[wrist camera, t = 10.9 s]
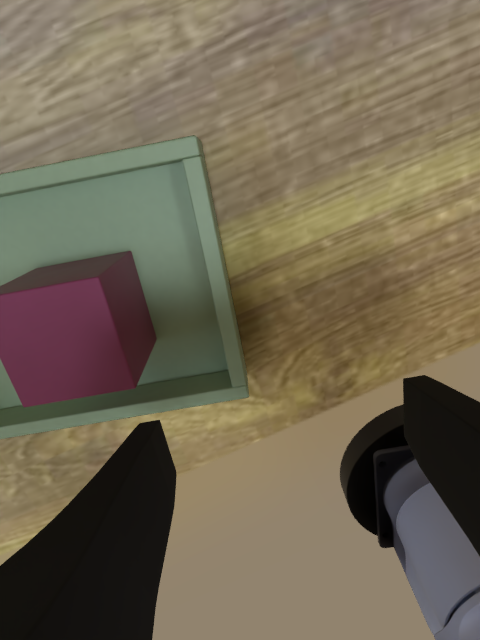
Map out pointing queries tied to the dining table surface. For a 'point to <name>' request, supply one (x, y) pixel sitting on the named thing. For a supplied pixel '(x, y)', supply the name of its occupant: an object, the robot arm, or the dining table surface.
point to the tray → (152, 267)
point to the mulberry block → (75, 329)
